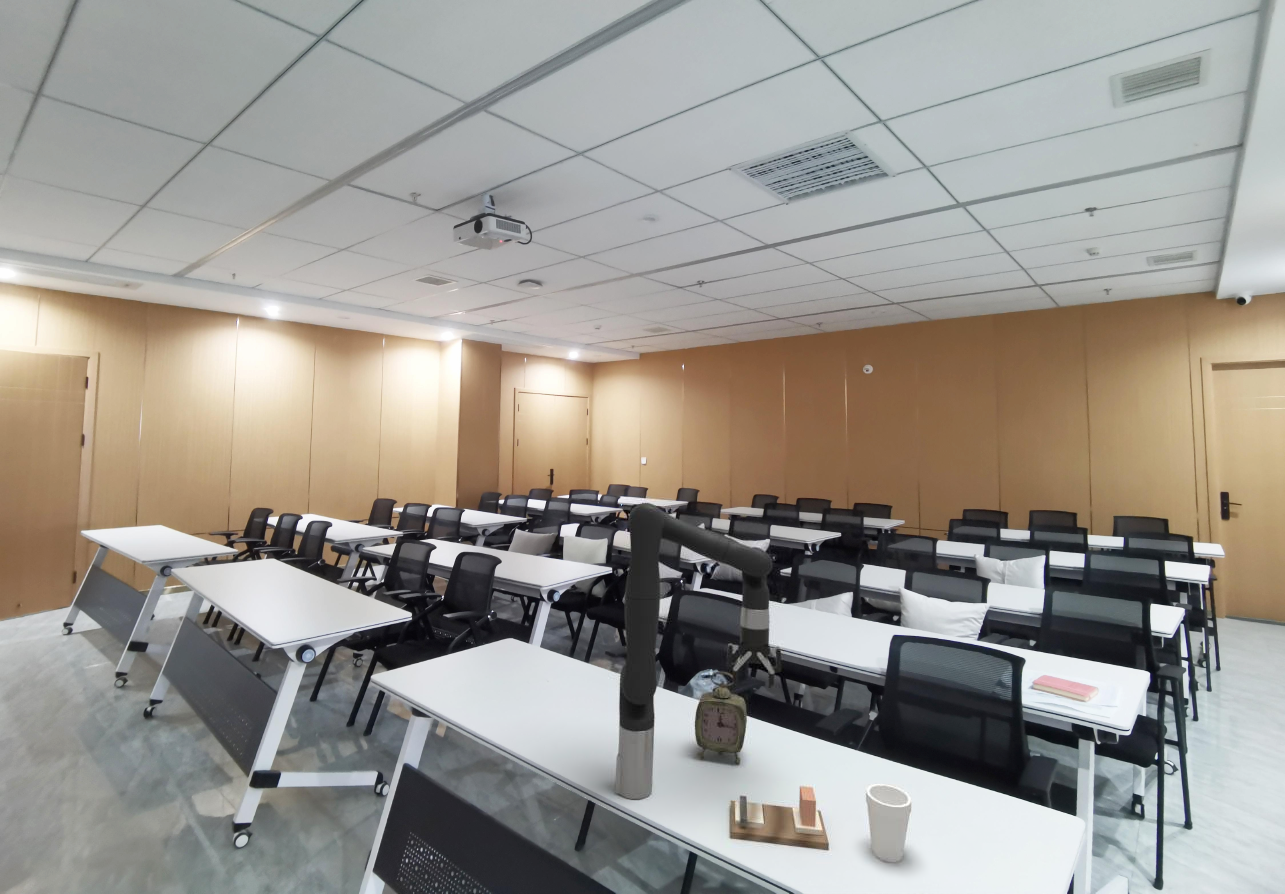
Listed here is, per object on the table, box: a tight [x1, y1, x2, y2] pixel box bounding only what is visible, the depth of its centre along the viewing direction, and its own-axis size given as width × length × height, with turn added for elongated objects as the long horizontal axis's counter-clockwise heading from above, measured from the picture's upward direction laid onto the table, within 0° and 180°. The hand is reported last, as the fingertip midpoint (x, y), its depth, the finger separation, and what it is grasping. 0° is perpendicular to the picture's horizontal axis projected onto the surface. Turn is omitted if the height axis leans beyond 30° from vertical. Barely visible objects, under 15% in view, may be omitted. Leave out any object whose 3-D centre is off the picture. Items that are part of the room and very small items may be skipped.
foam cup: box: [865, 783, 912, 863], centre depth 138 cm, size 10×9×13 cm
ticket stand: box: [730, 795, 830, 851], centre depth 146 cm, size 22×13×4 cm, turn 82°
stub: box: [792, 785, 823, 835], centre depth 145 cm, size 6×8×7 cm
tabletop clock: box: [694, 671, 748, 765], centre depth 180 cm, size 14×9×25 cm, turn 76°
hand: (752, 685), depth 161 cm, fingers open, 8 cm apart
